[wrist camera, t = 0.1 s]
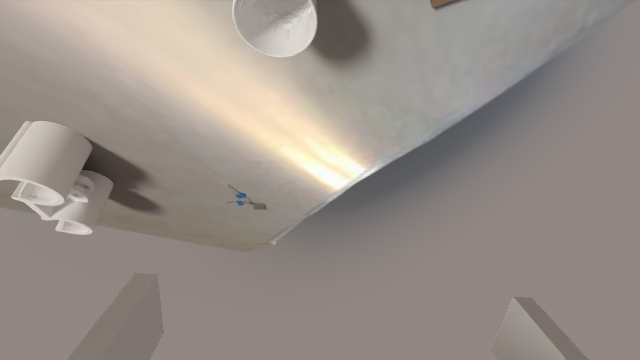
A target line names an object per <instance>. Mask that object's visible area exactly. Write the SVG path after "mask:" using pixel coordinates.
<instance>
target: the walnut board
mask: <svg viewBox="0 0 640 360" xmlns="http://www.w3.org/2000/svg"><path fill="white" fill-rule="evenodd" d="M450 1H453V0H431V5H432V8H433V7H436V6H439V5H442V4H444V3H447V2H450Z"/></svg>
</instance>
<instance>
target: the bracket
mask: <svg viewBox="0 0 640 360" xmlns="http://www.w3.org/2000/svg"><path fill="white" fill-rule="evenodd" d="M91 151H92V145H91V144H90V142H89V141H88V140H87V139H86V138H85V137H83V136H82V135H81V134H79V133H78V132H76V131H74V130H72V129H70V128H68V127H65V126H63V125H60V124H56V123H52V122H46V121H37V122H33V123H32V122H29V121H26V122H25V123H24V124H23V126H22V127H21V128H20V130H19V131H18V132H17V134H16V135H15V136H14V138H13V139H12V141H11V142H10V143H9V145H8V146H7V147H6V149H5V150H4V152H3V153H2V154H1V156H0V181H1V180H5V179H12V180H19V181H21V182H20V184H19V185H18V187H17V188H16V190H15V192H14V193H13V195H12V196H11V198H13V199H15V200H19V201H22V202H24V203H26V204H27V205H28V206H29V207H31V208H32V209H33V210H34V211H36V212H37V213H38V214H39V215H40V216H42V217H41V219H43V220H49V221H50V220H60V221H59V223H58V225H57V227H56V229H55V230H56V231H63V232H67V233H71V234H79V235H86V234H91V233H92V231H93V230H94V227H95V225H96V223H97V221H98V219H99V217H100V214H101V212H102V210H103V208H104V206H105V204H106V201H107V199H108V197H109V195H110V193H111V190H112V188H113V186H114V185H113V182H112V181H111V180H110V179H108V178H107V177H105V176H103V175H101V174H99V173H96V172H92V171H88V170H82V168H83V166H84V164H85V162H86V161H87V159H88V157H89V155H90V153H91Z"/></svg>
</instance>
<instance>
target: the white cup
mask: <svg viewBox="0 0 640 360" xmlns="http://www.w3.org/2000/svg"><path fill="white" fill-rule="evenodd" d="M232 16H233V21H234V25H235V27H236V29H237V31H238V33H239V35H240V36H241V38H242V39H243V40H244V41H245V42H246V43H247V44H248V45H249V46H250V47H251V48H253V49H254V50H256V51H257V52H259V53H261V54H264V55H266V56H270V57H275V58H286V57H291V56H294V55H297V54H299V53H301V52H302V51H304V50H305V49H306V48H307V47H308V46H309V45H310V44H311V42H312V41H313V39H314V37H315V34H316V30H317V0H234V1H233V5H232Z"/></svg>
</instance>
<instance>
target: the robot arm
mask: <svg viewBox="0 0 640 360" xmlns="http://www.w3.org/2000/svg"><path fill="white" fill-rule="evenodd" d="M163 333H164V332H163V322H162V314H161V303H160V293H159V284H158V275H157V274H144V273H134V275H133V276H132V277H131V278H130V280H129V281H128V282H127V283H126V285H125V286H124V287H123V288H122V290H121V291H120V292H119V294H118V295H117V296H116V297H115V299H114V300H113V301H112V302H111V304H110V305H109V306H108V308H107V309H106V310H105V311H104V313H103V314H102V315H101V316H100V318H99V319H98V320H97V322H96V323H95V324H94V325H93V327H92V328H91V329H90V331H89V332H88V333H87V334H86V336H85V337H84V338H83V339H82V341H81V342H80V343H79V344H78V346H77V347H76V348H75V350H74V351H73V352H72V354H71V355H70V356H69V357H68V359H67V360H150V358H151V356H152V354H153V352H154V350H155V348H156V347H157V345H158V343H159V341H160V339H161V337H162V335H163ZM491 350H492V352H493V353H494V355H495V357H496V358H497V360H589V359H588V358H587V357H586V356H585V355H584V354H583V353H582V352H581V351H580V349H579V348H578V347H577V346H576V345H575V344H574V343H573V342H572V341H571V340H570V339H569V337H568V336H566V334H565V333H564V332H563V331H562V330H561V329H560V328H559V327H558V325H557V324H556V323H555V322H554V321H553V320H552V319H551V318H550V317H549V316H548V315H547V313H546V312H545V311H544V310H543V309H542V308H541V307H540V306H539V305H538V304H537V303H536V301H535V300H534V299H533V298H524V297H513V299H512V301H511V304H510V306H509V308H508V311H507V313H506V315H505V318H504V320H503V322H502V324H501V327H500V329H499V331H498V333H497V336H496V338H495V340H494V343H493V345H492V347H491Z"/></svg>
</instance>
